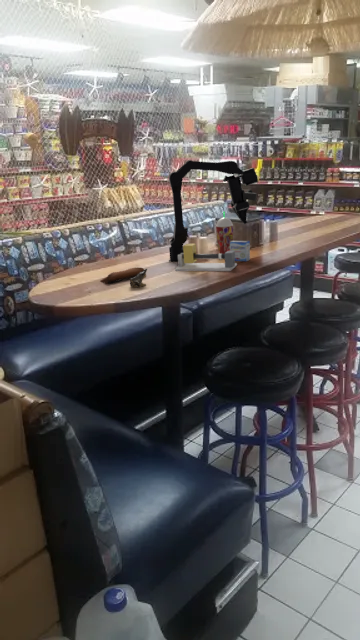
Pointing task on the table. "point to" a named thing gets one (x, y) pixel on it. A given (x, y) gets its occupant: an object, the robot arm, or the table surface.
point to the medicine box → (241, 250)
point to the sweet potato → (122, 275)
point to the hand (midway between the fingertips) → (243, 222)
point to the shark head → (138, 279)
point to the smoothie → (224, 234)
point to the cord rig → (226, 266)
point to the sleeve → (189, 253)
